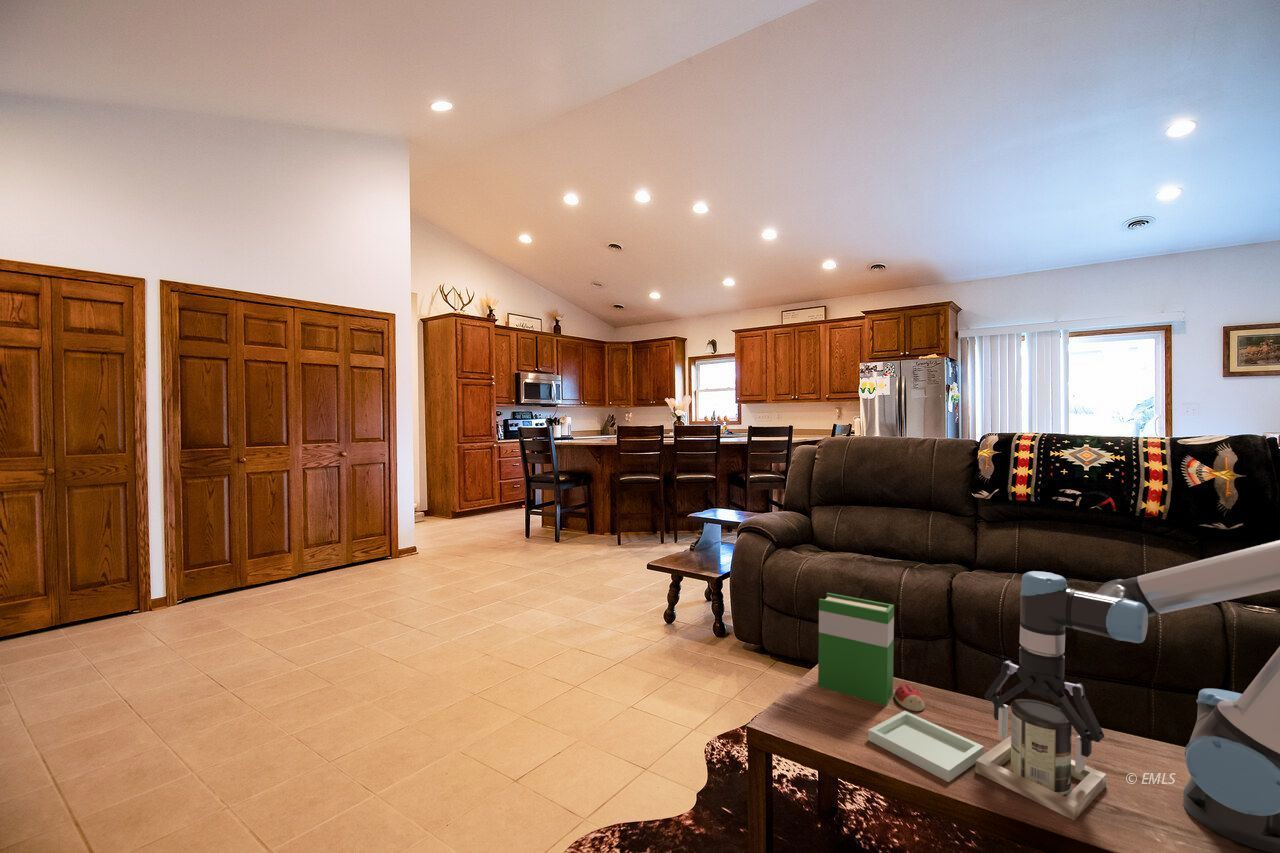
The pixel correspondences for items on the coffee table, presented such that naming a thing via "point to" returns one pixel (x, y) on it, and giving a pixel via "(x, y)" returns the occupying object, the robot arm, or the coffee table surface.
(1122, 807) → the coffee table surface
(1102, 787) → the wooden collar
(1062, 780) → the coffee can
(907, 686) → the red apple half
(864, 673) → the hardback book
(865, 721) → the coffee table surface
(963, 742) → the tray
